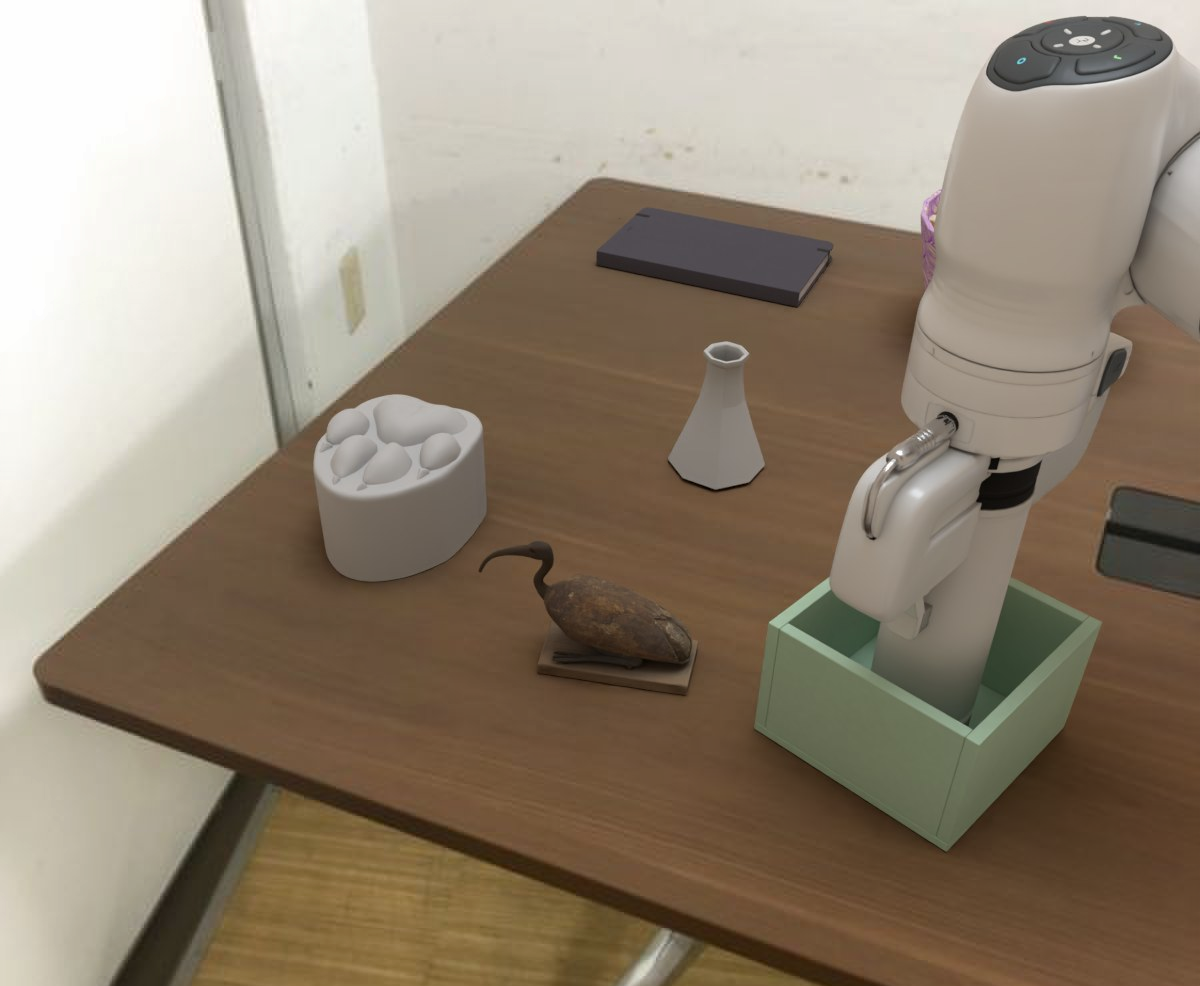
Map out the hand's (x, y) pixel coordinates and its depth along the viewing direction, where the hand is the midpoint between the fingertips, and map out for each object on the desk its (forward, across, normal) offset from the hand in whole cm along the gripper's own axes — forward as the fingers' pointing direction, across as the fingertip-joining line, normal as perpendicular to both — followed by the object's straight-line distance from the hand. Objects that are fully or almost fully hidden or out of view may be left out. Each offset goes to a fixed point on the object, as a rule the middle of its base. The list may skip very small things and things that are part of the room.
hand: (942, 598), depth 70 cm
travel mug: (+9, 0, 0) cm, 9 cm away
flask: (+10, +14, +27) cm, 32 cm away
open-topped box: (+10, 0, 0) cm, 10 cm away
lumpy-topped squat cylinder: (+10, -9, +38) cm, 40 cm away
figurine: (+10, -9, +19) cm, 23 cm away
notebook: (+10, +43, +51) cm, 67 cm away
